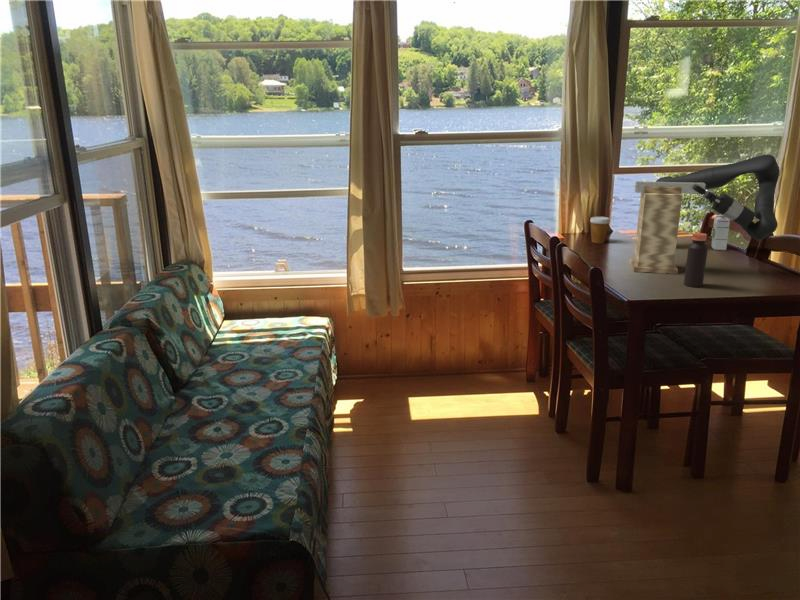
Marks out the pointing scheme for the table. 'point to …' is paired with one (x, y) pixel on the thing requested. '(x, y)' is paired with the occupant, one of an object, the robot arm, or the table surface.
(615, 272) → the table surface
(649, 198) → the post
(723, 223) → the syrup box
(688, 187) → the rail
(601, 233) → the disposable coffee cup
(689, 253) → the bottle
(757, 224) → the robot arm
